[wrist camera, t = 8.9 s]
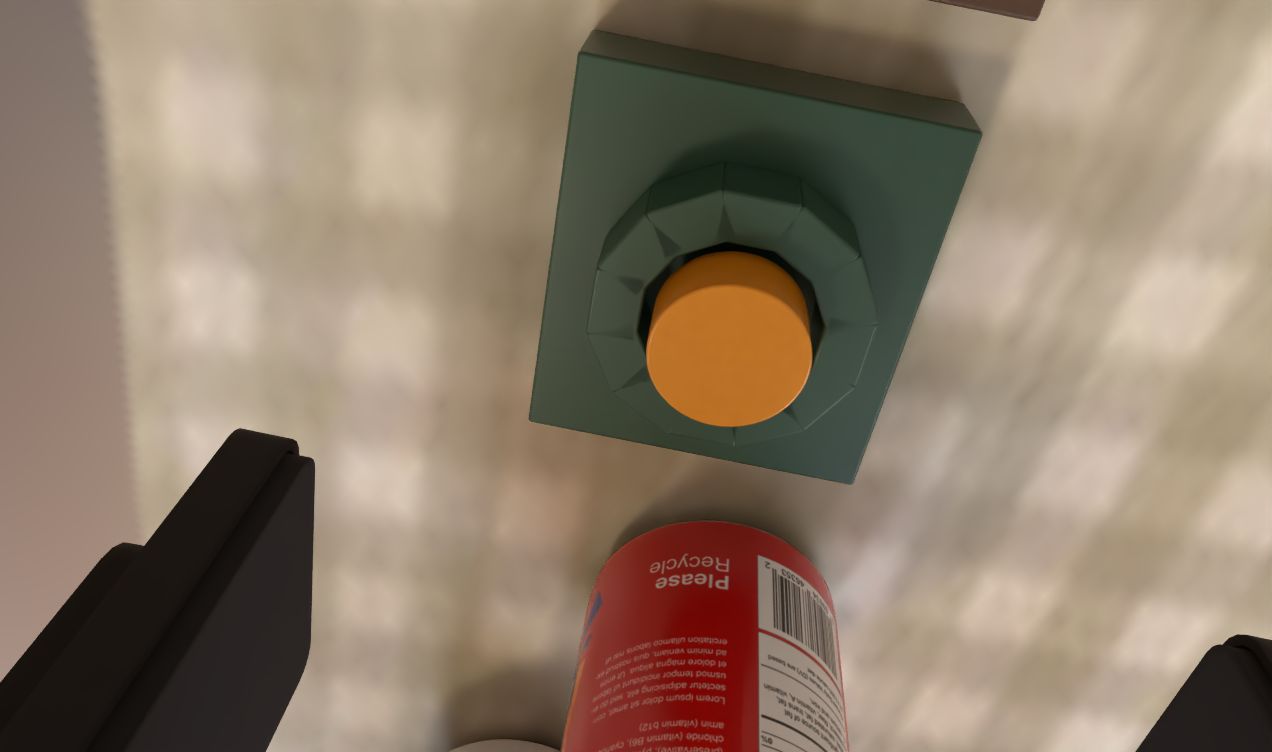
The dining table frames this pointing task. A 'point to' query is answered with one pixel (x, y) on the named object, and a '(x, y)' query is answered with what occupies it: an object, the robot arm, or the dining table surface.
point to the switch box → (741, 237)
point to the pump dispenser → (504, 746)
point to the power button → (729, 339)
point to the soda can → (708, 648)
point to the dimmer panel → (1002, 7)
